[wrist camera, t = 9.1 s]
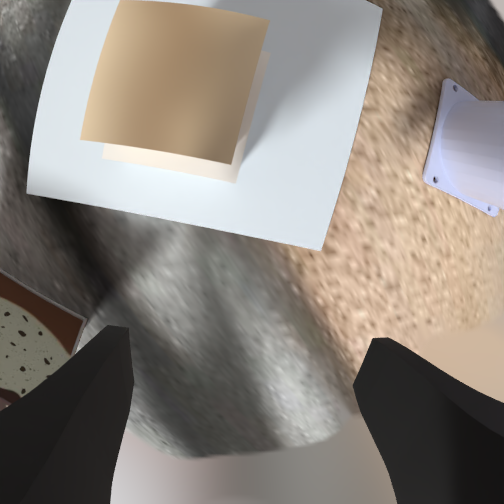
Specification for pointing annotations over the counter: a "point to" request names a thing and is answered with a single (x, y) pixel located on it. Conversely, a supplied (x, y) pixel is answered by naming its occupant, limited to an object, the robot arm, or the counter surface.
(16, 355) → the food container
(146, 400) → the counter surface
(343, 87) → the white flat panel
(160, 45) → the maple block
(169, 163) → the base block
